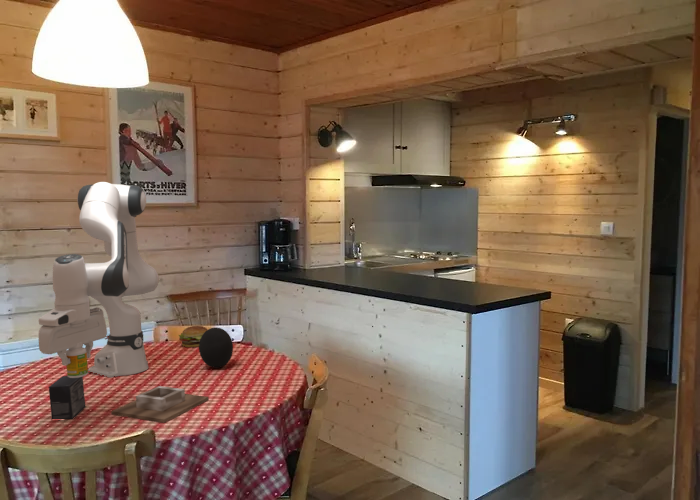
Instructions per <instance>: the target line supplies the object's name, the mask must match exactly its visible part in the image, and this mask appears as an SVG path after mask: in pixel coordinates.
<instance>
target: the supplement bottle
mask: <svg viewBox="0 0 700 500" xmlns="http://www.w3.org/2000/svg"><path fill="white" fill-rule="evenodd" d="M65 355H66V356H67V358H71V361H70V362H71V364H69V365H66V374H67V375H66V376H68V377H69V378H79V377H86V376H87V375H88V374H89V372H88V369H89V366H88V365H89V363H88V358H87V351H86V349H85V347H84V344H83V343H82V342H79V343H77V346H76V347H73V348H70V349H67V353H66V354H65Z"/></svg>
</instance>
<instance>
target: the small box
mask: <svg viewBox="0 0 700 500" xmlns="http://www.w3.org/2000/svg"><path fill="white" fill-rule="evenodd" d="M83 377H84V376H83ZM83 377H79V378H69V377H68V376H67V375H62V376H60V378H58V379H57V380H56V381H54V382H52V384H50V385H49V386H48V392H49V393H48V395H49V403H50V404H49V405H50V413H51V414H50V416H51V420H52V419H73V418H74V417H75V418H76V417H78V415H79V414H80V413H81V412H82V411H84V409H85V408H86V399H85V390H84V389H85V387H84V378H83ZM75 418H74V419H75ZM74 419H73V420H74Z"/></svg>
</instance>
